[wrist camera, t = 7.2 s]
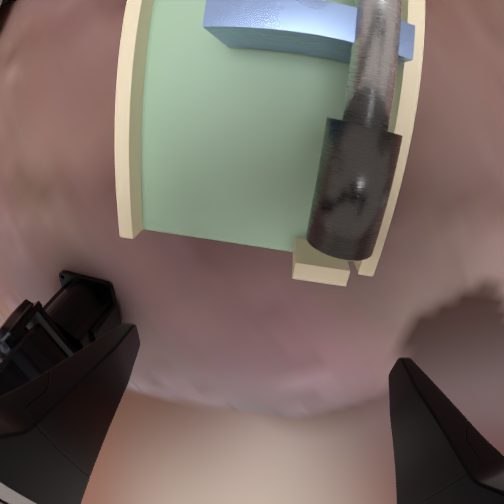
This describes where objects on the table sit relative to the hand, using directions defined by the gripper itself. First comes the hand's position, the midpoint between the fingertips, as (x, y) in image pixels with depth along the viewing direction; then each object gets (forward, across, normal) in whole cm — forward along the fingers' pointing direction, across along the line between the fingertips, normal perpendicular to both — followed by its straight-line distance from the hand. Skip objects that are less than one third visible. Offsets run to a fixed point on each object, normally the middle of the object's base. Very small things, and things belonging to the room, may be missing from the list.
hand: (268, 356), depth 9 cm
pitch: (+12, +2, -12) cm, 17 cm away
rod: (+9, 0, -14) cm, 17 cm away
